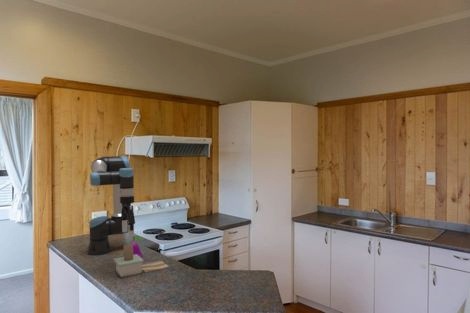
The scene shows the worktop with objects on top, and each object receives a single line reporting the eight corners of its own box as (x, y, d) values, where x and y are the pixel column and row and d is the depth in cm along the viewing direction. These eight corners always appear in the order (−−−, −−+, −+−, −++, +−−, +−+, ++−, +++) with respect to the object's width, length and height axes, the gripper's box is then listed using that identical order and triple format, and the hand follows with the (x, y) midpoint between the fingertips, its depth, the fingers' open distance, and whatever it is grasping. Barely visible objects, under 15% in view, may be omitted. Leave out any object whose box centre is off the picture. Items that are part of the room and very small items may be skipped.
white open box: (116, 271, 179) (115, 260, 179) (135, 267, 185) (135, 256, 185) (121, 277, 170) (120, 266, 170) (141, 272, 176) (141, 262, 176)
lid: (113, 260, 179) (113, 244, 179) (136, 256, 186) (136, 240, 186) (119, 267, 168) (118, 249, 168) (143, 262, 175) (143, 245, 175)
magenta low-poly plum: (137, 263, 191) (136, 238, 191) (120, 263, 193) (120, 238, 193) (146, 257, 202) (145, 234, 202) (130, 257, 204) (129, 233, 204)
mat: (137, 266, 187) (137, 264, 187) (160, 261, 195) (160, 260, 195) (145, 273, 175) (145, 272, 175) (169, 267, 183) (169, 266, 183)
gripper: (114, 194, 185) (115, 230, 185) (126, 198, 164) (127, 239, 165) (127, 193, 189) (128, 229, 189) (140, 197, 169) (141, 237, 169)
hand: (128, 234), depth 177 cm, fingers open, 13 cm apart
